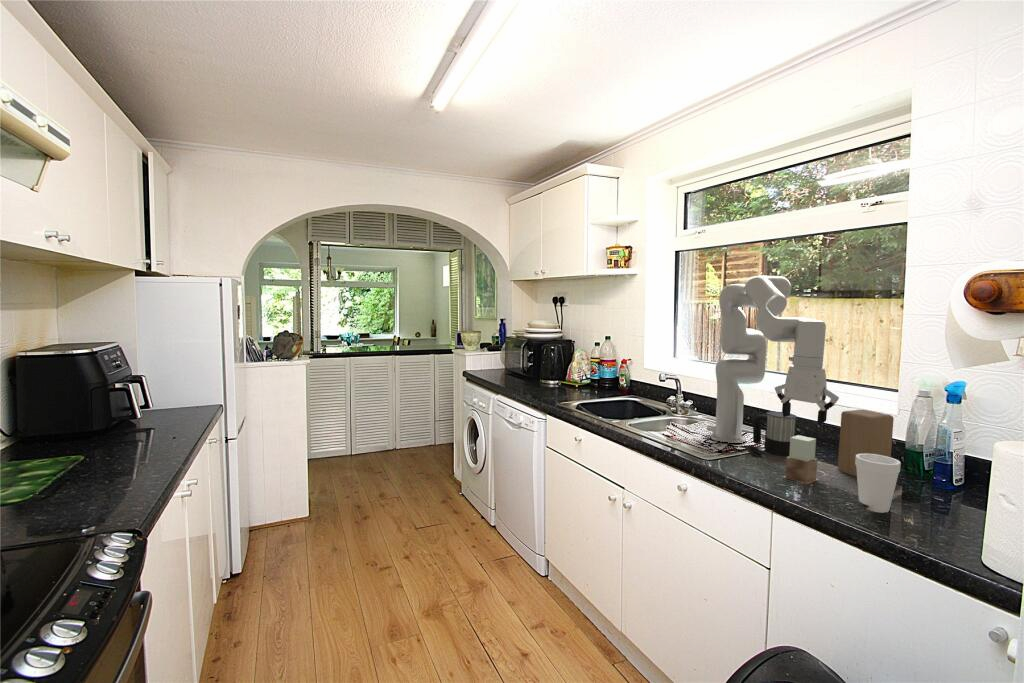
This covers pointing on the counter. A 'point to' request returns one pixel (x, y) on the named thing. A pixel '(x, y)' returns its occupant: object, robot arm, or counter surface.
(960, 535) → the counter surface
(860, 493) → the foam cup
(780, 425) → the milk frother
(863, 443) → the block
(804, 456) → the sage block
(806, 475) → the walnut block
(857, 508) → the counter surface
